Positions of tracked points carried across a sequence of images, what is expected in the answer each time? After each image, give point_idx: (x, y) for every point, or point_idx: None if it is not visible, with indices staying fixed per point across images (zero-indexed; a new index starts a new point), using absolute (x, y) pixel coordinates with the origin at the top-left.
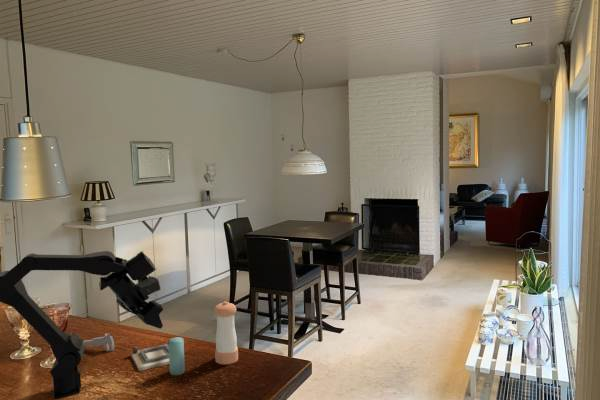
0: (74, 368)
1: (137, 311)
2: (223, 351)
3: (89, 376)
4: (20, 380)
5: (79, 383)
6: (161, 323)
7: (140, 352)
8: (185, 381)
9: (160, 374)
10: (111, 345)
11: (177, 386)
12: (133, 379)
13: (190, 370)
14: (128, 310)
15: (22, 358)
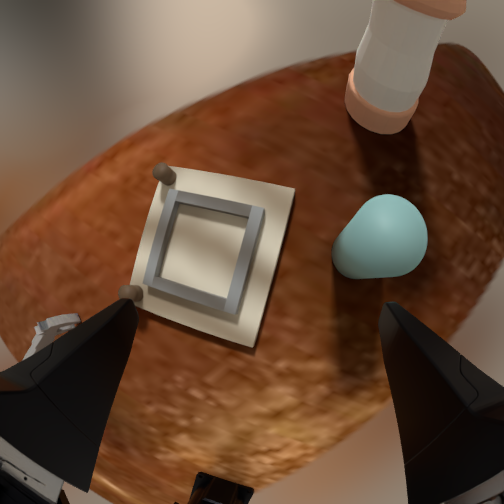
0: None
1: (93, 404)
2: (410, 105)
3: (181, 440)
4: (115, 493)
5: (235, 492)
6: (419, 326)
7: (155, 287)
8: (426, 268)
9: (331, 305)
10: (69, 323)
11: (434, 302)
12: (294, 382)
13: None
14: (88, 475)
15: None
